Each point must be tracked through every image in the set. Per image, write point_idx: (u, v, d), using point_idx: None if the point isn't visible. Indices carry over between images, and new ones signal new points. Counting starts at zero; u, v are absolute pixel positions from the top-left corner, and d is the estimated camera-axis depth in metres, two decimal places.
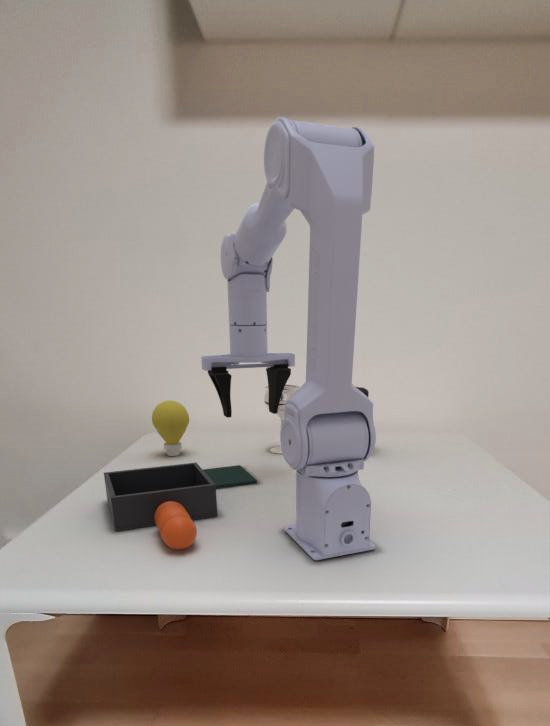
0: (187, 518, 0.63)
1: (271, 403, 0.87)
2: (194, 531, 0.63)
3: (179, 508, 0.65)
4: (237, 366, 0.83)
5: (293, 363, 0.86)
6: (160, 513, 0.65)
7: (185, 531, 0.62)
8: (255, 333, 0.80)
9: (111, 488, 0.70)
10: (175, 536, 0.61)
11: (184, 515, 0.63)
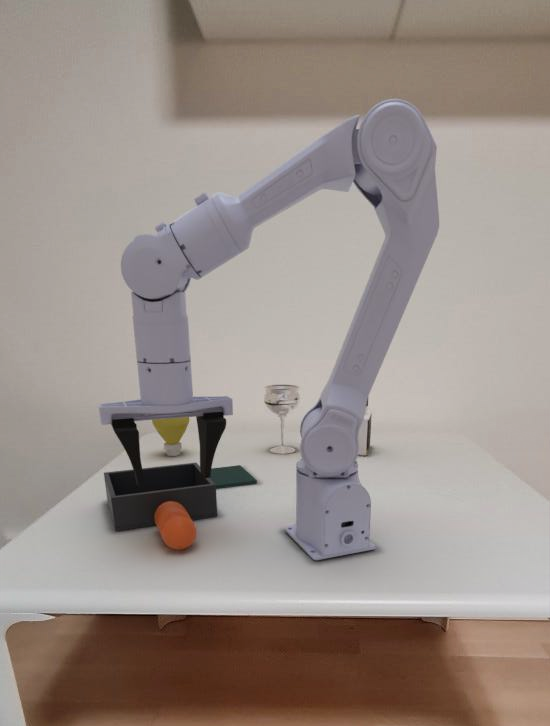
0: (187, 518, 0.63)
1: (203, 464, 0.65)
2: (194, 531, 0.63)
3: (179, 508, 0.65)
4: (151, 417, 0.60)
5: (230, 411, 0.63)
6: (160, 513, 0.65)
7: (185, 531, 0.62)
8: (171, 374, 0.57)
9: (111, 488, 0.70)
10: (175, 536, 0.61)
11: (184, 515, 0.63)
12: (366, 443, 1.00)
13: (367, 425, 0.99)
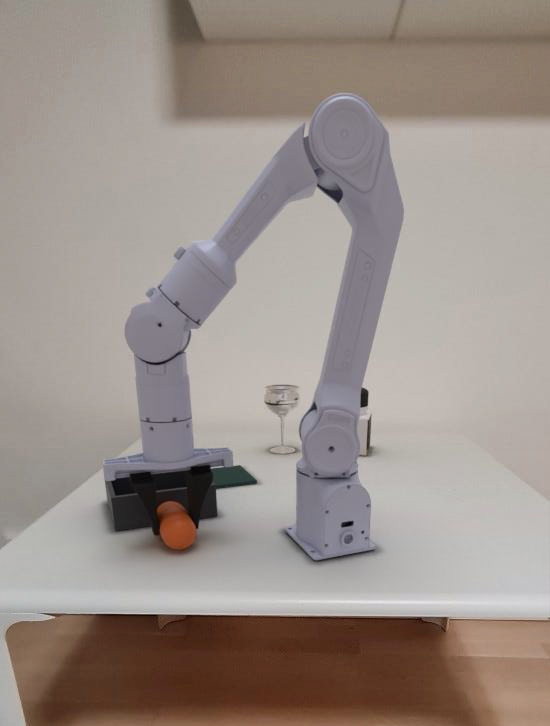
0: (187, 518, 0.63)
1: (190, 516, 0.66)
2: (194, 531, 0.63)
3: (179, 508, 0.65)
4: (153, 471, 0.62)
5: (231, 463, 0.64)
6: (160, 513, 0.65)
7: (185, 531, 0.62)
8: (173, 432, 0.59)
9: (111, 488, 0.70)
10: (175, 536, 0.61)
11: (184, 515, 0.63)
12: (366, 443, 1.00)
13: (367, 425, 0.99)
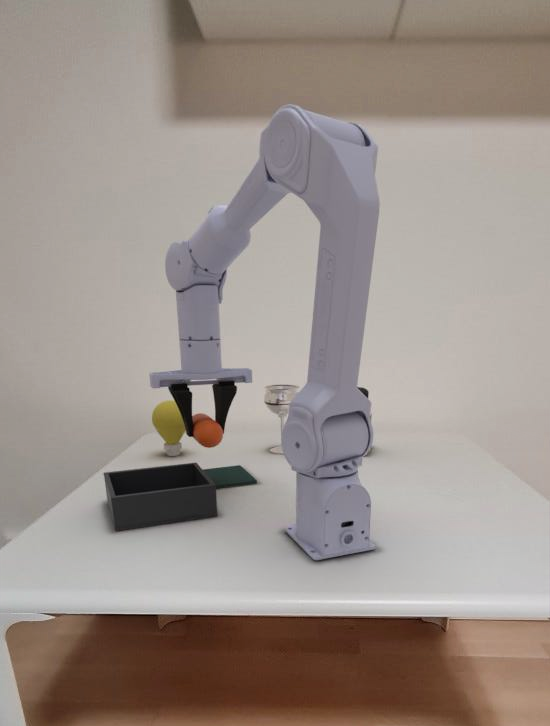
0: (215, 422, 0.78)
1: None
2: (221, 432, 0.78)
3: (208, 417, 0.81)
4: (189, 383, 0.77)
5: (250, 379, 0.80)
6: (193, 420, 0.81)
7: (214, 431, 0.77)
8: (206, 348, 0.74)
9: (111, 488, 0.70)
10: (207, 434, 0.77)
11: (213, 420, 0.79)
12: None
13: None
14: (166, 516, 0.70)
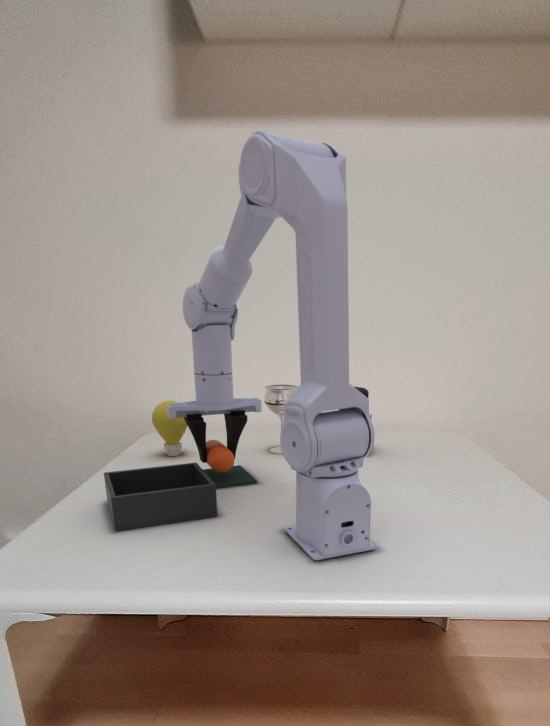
0: (227, 449, 0.84)
1: (229, 449, 0.87)
2: (233, 458, 0.84)
3: (220, 443, 0.87)
4: (203, 413, 0.83)
5: (260, 409, 0.86)
6: (206, 447, 0.86)
7: (227, 457, 0.83)
8: (219, 382, 0.80)
9: (111, 488, 0.70)
10: (219, 461, 0.83)
11: (225, 447, 0.85)
12: None
13: None
14: (166, 516, 0.70)
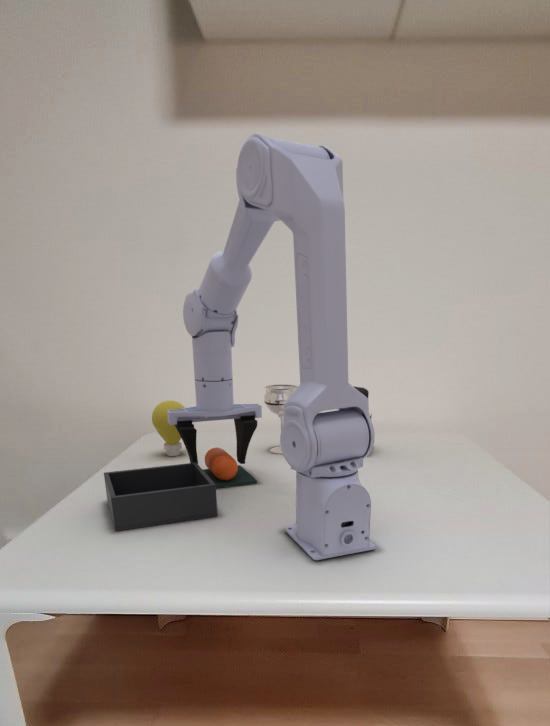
0: (233, 459, 0.85)
1: (239, 454, 0.88)
2: (236, 469, 0.85)
3: (226, 452, 0.88)
4: (204, 419, 0.84)
5: (260, 414, 0.86)
6: (212, 453, 0.87)
7: (231, 466, 0.84)
8: (220, 388, 0.80)
9: (111, 488, 0.70)
10: (224, 468, 0.83)
11: None
12: None
13: None
14: (166, 516, 0.70)
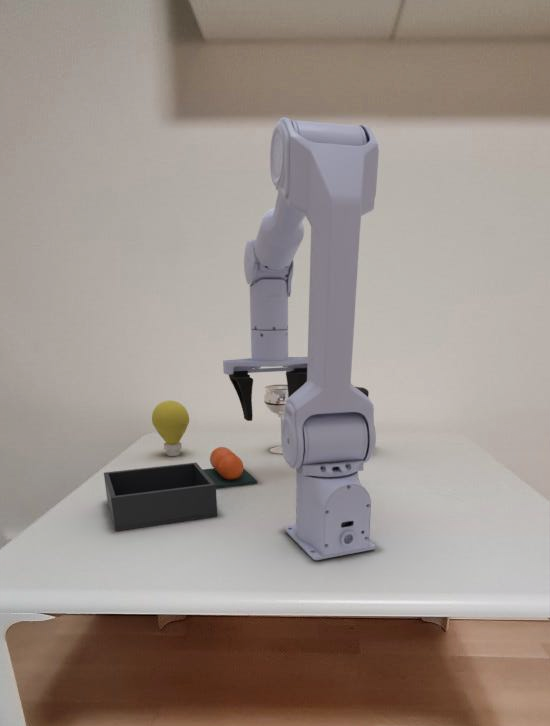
0: None
1: None
2: (241, 472, 0.85)
3: None
4: (259, 370, 0.84)
5: None
6: (222, 450, 0.88)
7: (238, 467, 0.84)
8: (277, 337, 0.81)
9: (111, 488, 0.70)
10: (231, 465, 0.84)
11: None
12: None
13: None
14: (166, 516, 0.70)
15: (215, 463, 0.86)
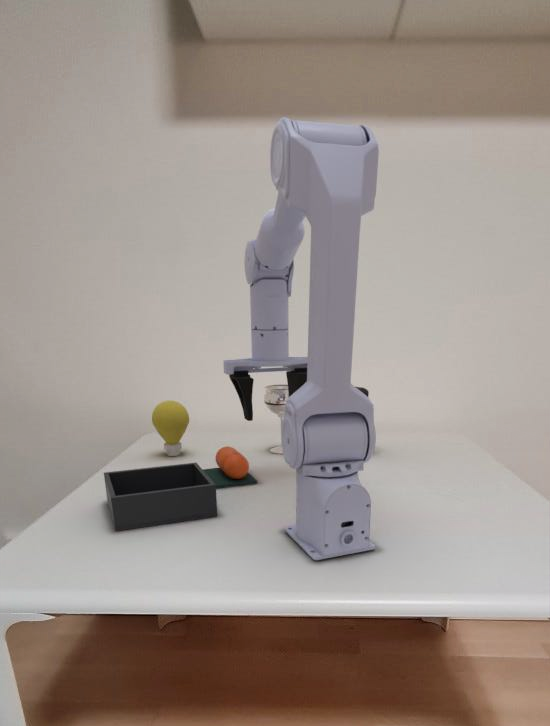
0: None
1: None
2: (244, 475, 0.86)
3: None
4: (259, 370, 0.84)
5: None
6: (233, 449, 0.88)
7: (245, 469, 0.85)
8: (277, 337, 0.81)
9: (111, 488, 0.70)
10: (239, 464, 0.84)
11: None
12: None
13: None
14: (166, 516, 0.70)
15: (223, 457, 0.87)
